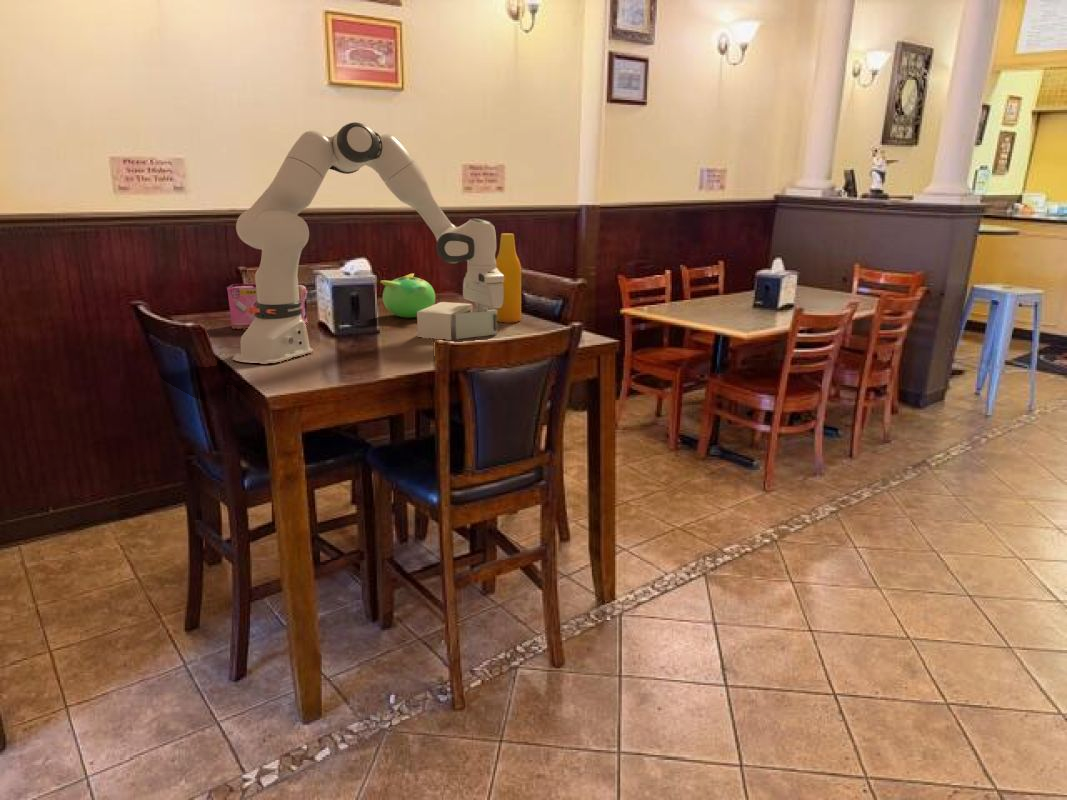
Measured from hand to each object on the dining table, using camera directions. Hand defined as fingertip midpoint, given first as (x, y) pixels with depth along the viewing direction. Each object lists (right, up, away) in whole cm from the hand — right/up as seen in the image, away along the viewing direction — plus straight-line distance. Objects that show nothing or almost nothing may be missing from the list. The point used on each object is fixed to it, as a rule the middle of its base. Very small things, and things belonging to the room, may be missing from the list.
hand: (482, 317), depth 234 cm
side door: (-2, -6, -3) cm, 7 cm away
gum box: (-70, -2, +11) cm, 70 cm away
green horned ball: (-27, +3, +27) cm, 38 cm away
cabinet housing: (-12, -4, +3) cm, 13 cm away
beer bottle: (+7, +1, +23) cm, 24 cm away
